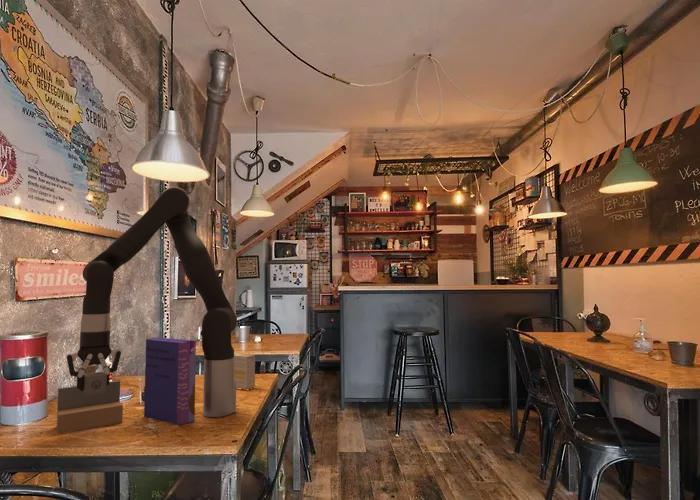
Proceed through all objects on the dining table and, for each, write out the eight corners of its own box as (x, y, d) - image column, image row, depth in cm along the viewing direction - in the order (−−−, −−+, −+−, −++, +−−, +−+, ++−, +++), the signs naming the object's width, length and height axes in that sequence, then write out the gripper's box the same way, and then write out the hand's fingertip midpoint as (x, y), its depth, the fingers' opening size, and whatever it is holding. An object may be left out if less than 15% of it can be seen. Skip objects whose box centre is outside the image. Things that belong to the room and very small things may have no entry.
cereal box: (194, 421, 129) (195, 340, 131) (181, 425, 125) (182, 342, 127) (157, 412, 138) (159, 336, 140) (144, 416, 134) (146, 338, 136)
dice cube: (106, 392, 123) (106, 374, 123) (86, 395, 120) (86, 377, 120) (101, 388, 127) (102, 371, 127) (82, 391, 123) (82, 374, 124)
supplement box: (255, 388, 169) (255, 354, 170) (246, 391, 164) (246, 356, 165) (240, 385, 173) (240, 352, 174) (231, 388, 169) (231, 354, 170)
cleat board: (118, 416, 134) (119, 380, 135) (122, 422, 128) (123, 384, 129) (56, 427, 125) (58, 388, 126) (57, 433, 119) (59, 393, 120)
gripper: (121, 326, 133) (119, 382, 131) (65, 329, 124) (62, 389, 123) (125, 329, 127) (122, 387, 125) (66, 332, 118) (63, 395, 117)
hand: (92, 388), depth 124 cm, fingers closed on dice cube, 5 cm apart
